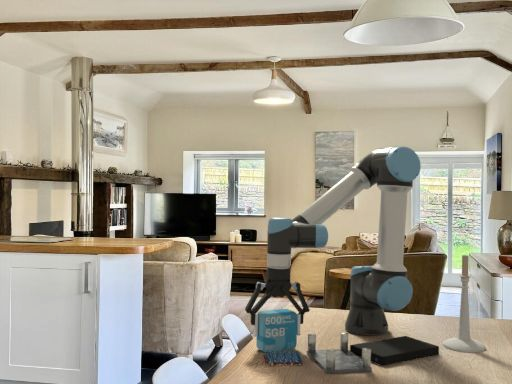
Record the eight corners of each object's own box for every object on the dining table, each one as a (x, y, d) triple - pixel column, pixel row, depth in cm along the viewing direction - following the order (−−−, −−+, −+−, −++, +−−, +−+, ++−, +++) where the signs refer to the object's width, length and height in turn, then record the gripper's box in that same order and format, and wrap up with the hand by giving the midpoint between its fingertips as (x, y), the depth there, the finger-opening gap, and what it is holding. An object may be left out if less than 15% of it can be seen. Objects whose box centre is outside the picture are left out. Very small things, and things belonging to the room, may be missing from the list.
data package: (262, 353, 174) (262, 314, 174) (256, 349, 179) (256, 311, 178) (296, 349, 180) (297, 311, 180) (289, 345, 184) (290, 308, 184)
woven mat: (263, 357, 172) (263, 350, 172) (298, 357, 173) (298, 350, 173) (265, 368, 162) (265, 361, 162) (302, 368, 162) (303, 360, 162)
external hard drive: (438, 356, 175) (438, 346, 175) (382, 367, 164) (382, 356, 163) (404, 344, 188) (404, 335, 188) (349, 354, 176) (349, 344, 176)
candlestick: (475, 355, 176) (477, 257, 175) (436, 346, 184) (437, 253, 184) (491, 346, 185) (493, 254, 185) (453, 339, 194) (454, 250, 193)
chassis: (346, 351, 178) (347, 332, 177) (372, 371, 158) (372, 350, 158) (306, 353, 175) (306, 333, 175) (327, 374, 156) (327, 352, 155)
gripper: (313, 265, 185) (311, 331, 185) (237, 265, 180) (235, 332, 180) (320, 268, 178) (318, 336, 178) (241, 268, 173) (239, 338, 173)
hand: (276, 335), depth 179 cm, fingers open, 13 cm apart
